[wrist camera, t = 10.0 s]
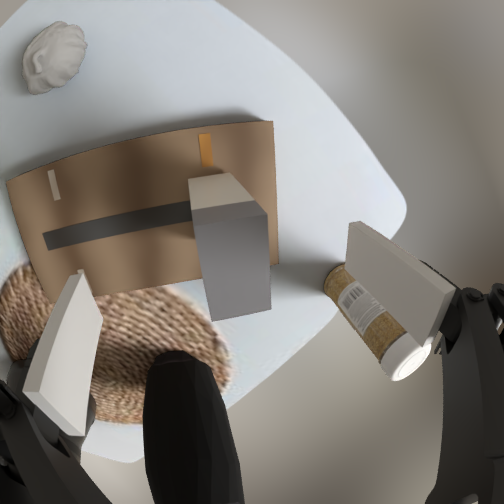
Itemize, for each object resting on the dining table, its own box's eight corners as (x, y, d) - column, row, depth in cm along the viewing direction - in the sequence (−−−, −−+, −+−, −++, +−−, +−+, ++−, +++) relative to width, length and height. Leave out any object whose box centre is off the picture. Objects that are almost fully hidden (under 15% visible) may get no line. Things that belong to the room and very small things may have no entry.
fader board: (56, 291, 21) (50, 303, 20) (17, 176, 16) (5, 182, 14) (271, 253, 25) (278, 264, 24) (265, 120, 20) (273, 120, 18)
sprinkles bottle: (330, 302, 31) (393, 389, 19) (316, 278, 28) (388, 372, 17) (361, 280, 30) (432, 357, 19) (350, 254, 28) (433, 334, 16)
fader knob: (197, 242, 20) (212, 321, 13) (188, 178, 18) (193, 226, 10) (236, 236, 21) (271, 309, 13) (230, 172, 19) (267, 214, 11)
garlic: (81, 97, 15) (54, 92, 10) (30, 96, 13) (-3, 95, 9) (104, 29, 13) (85, 7, 8) (51, 31, 11) (24, 16, 6)
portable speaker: (132, 375, 29) (136, 524, 12) (172, 334, 27) (193, 519, 10) (186, 397, 33) (210, 527, 16) (230, 362, 31) (276, 512, 14)
